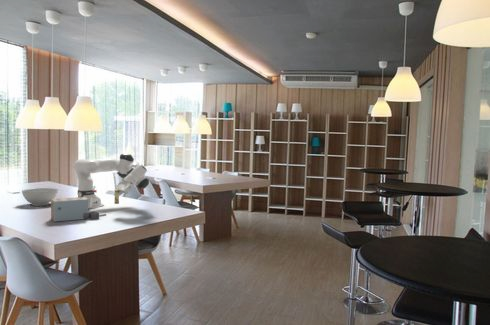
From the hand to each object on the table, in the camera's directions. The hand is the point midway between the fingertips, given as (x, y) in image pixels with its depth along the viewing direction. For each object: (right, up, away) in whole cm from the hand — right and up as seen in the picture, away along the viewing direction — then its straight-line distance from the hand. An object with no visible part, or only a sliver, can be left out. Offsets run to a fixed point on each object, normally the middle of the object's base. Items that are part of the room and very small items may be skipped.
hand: (115, 195), depth 282 cm
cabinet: (-28, -15, -12) cm, 34 cm away
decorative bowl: (-77, -11, +41) cm, 87 cm away
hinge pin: (0, -6, +1) cm, 6 cm away
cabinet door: (-25, -15, -17) cm, 34 cm away
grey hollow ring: (-14, -15, -9) cm, 23 cm away
